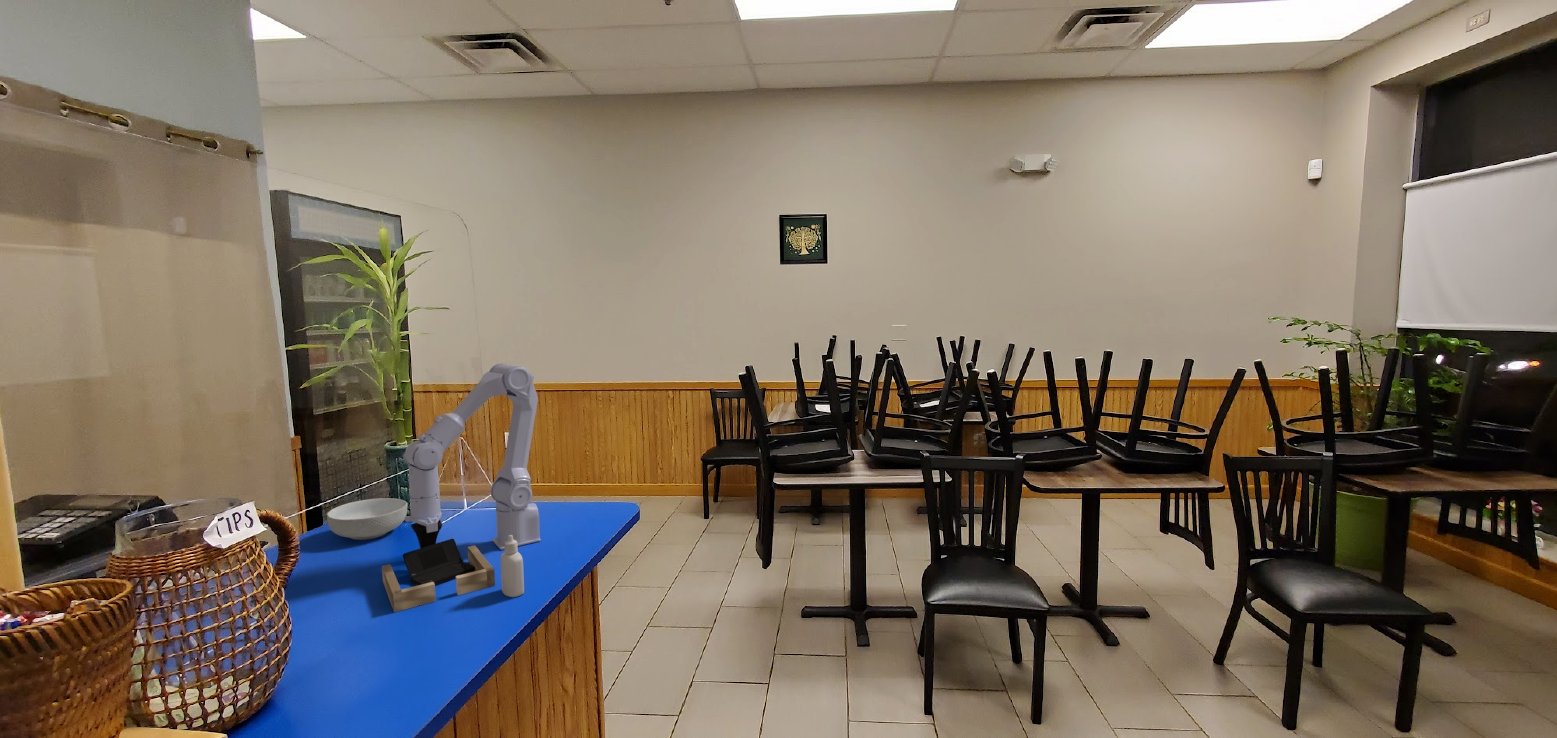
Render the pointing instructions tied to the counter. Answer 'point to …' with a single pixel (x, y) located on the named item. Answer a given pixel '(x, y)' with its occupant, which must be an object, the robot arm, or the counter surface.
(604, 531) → the counter surface
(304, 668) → the counter surface
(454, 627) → the counter surface
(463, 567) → the handheld gaming console
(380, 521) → the cereal bowl
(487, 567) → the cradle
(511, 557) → the eye dropper bottle
